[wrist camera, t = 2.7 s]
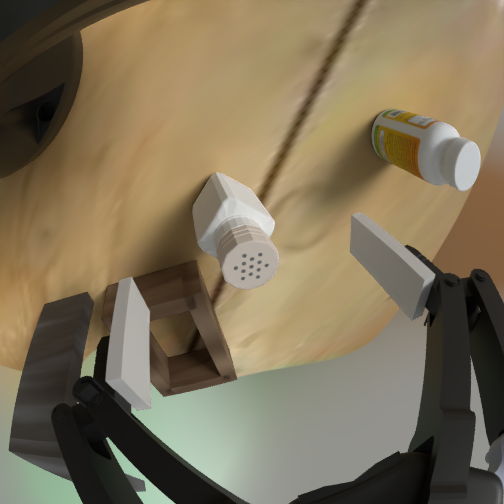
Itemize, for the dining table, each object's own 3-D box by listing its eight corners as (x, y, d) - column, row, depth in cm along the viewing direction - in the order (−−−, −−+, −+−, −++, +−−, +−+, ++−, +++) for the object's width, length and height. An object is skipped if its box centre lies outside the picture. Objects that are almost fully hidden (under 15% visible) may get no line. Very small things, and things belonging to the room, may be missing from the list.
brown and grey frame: (44, 304, 23) (8, 450, 9) (196, 260, 25) (236, 443, 12) (105, 377, 31) (107, 493, 18) (229, 349, 33) (267, 476, 20)
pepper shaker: (229, 228, 24) (259, 303, 17) (188, 209, 22) (199, 282, 15) (255, 190, 23) (301, 251, 15) (213, 167, 21) (240, 220, 13)
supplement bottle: (392, 169, 25) (463, 211, 17) (360, 141, 23) (439, 178, 15) (416, 129, 23) (490, 159, 15) (386, 97, 21) (470, 118, 13)
